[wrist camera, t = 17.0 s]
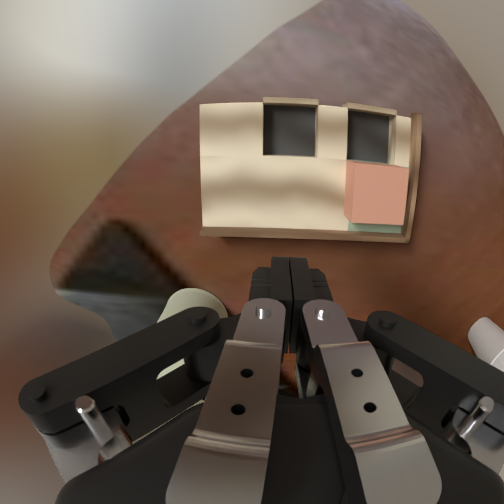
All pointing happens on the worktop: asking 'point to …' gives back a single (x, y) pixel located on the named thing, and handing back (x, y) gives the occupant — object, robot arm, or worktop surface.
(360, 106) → the board
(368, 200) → the salmon pink square block
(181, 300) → the can
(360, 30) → the worktop surface
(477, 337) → the dixie cup
